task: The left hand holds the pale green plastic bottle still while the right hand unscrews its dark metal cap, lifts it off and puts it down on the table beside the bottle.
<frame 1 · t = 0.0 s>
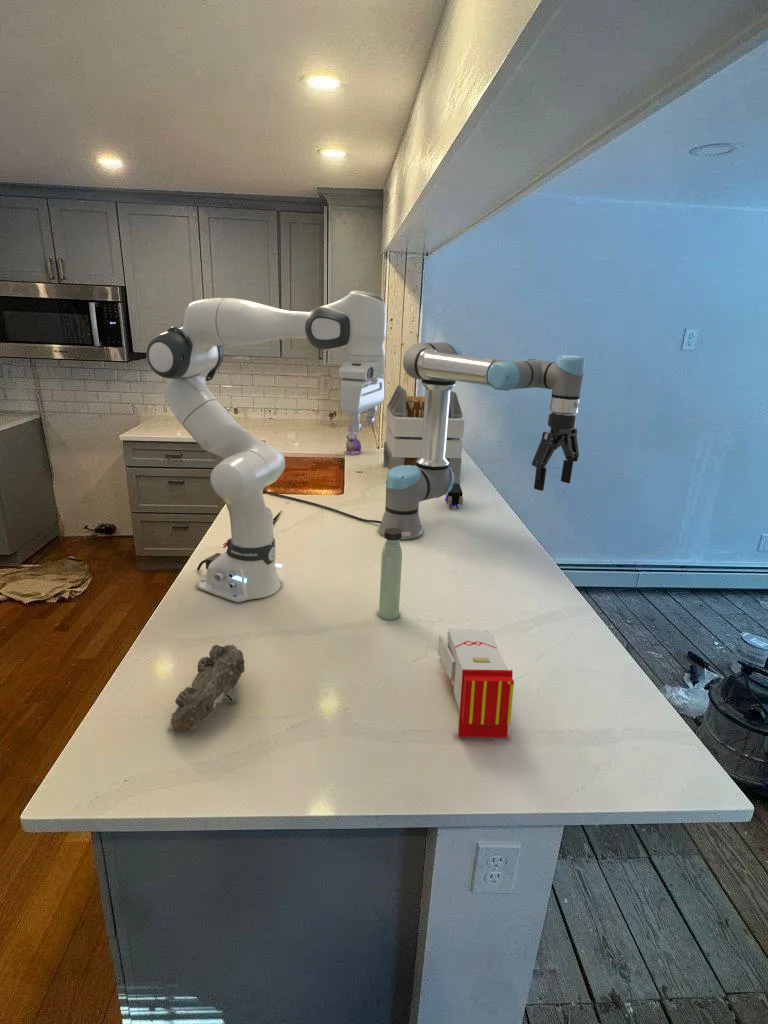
left hand: (363, 428, 133), 48 cm above the counter, tool pointing down, fingers open, 8 cm apart
right hand: (552, 485, 166), 28 cm above the counter, tool pointing down, fingers open, 13 cm apart
feather: (279, 514, 213), on the counter
transformer: (419, 473, 275), on the counter
toy: (469, 691, 119), on the counter
cap: (393, 532, 139), point 23 cm above the counter, screwed on, not yet turned
figurine character: (452, 505, 232), on the counter
bottle: (388, 614, 147), on the counter
figurine: (353, 453, 307), on the counter
fossil: (214, 699, 113), on the counter
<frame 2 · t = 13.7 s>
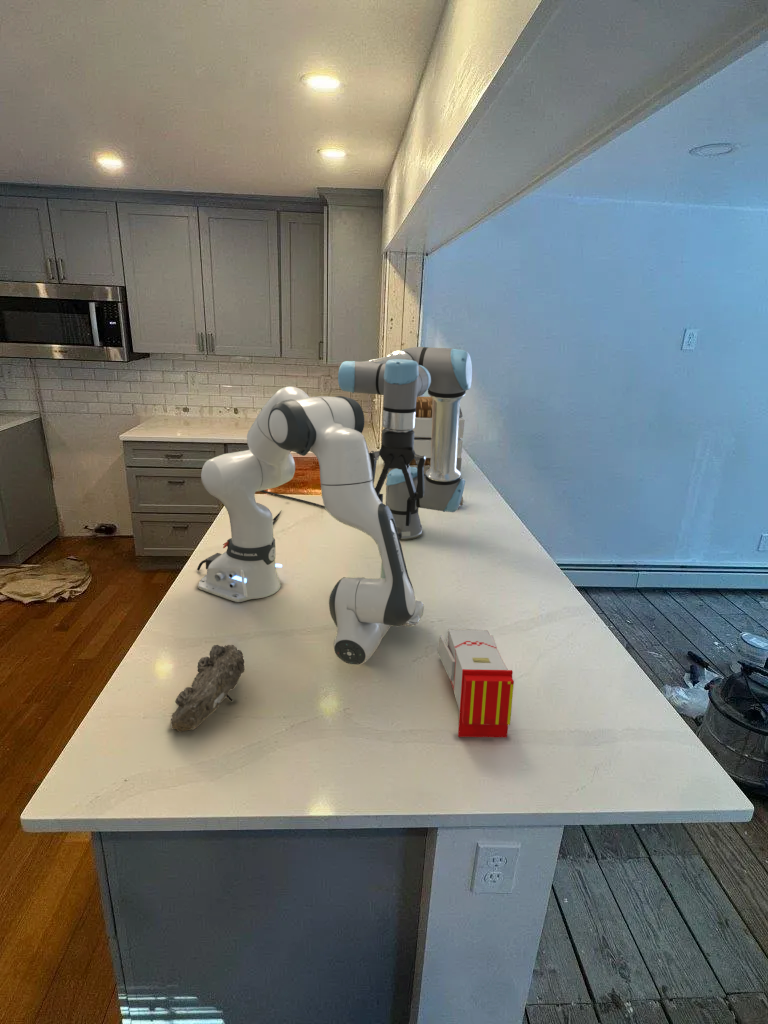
left hand: (390, 591, 146), 6 cm above the counter, tool horizontal, fingers closed on bottle, 5 cm apart
right hand: (393, 522, 138), 26 cm above the counter, tool pointing down, fingers open, 6 cm apart
bottle: (388, 614, 147), on the counter, touching left hand
everything else where it was.
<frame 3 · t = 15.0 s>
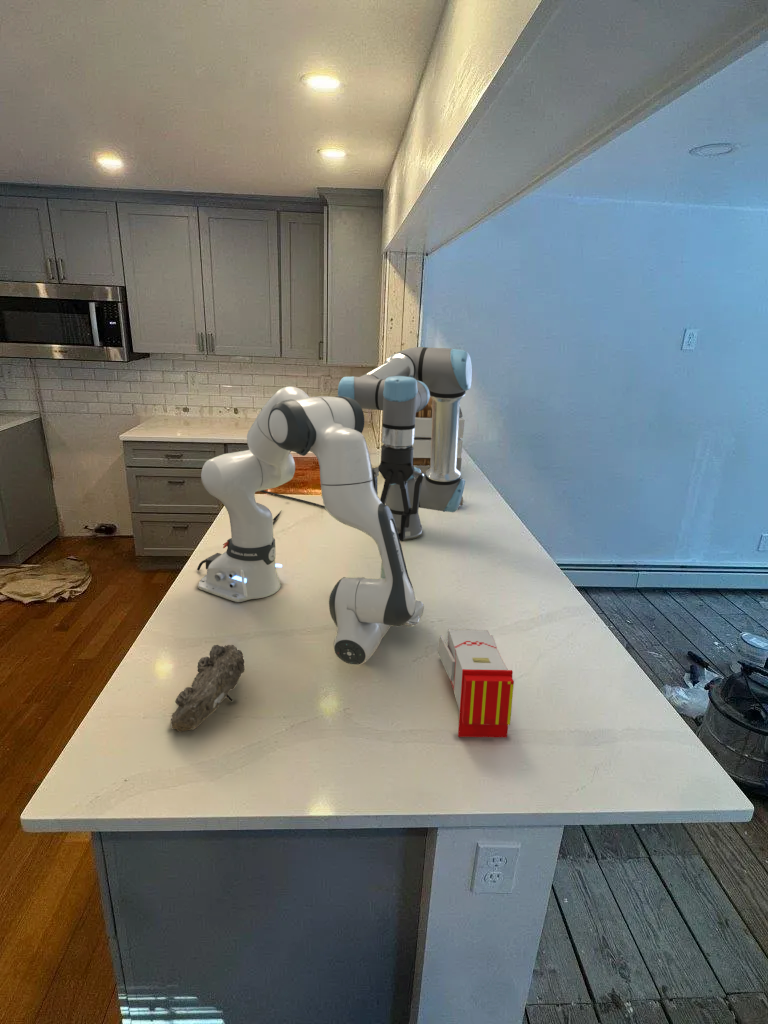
left hand: (390, 591, 146), 6 cm above the counter, tool horizontal, fingers closed on bottle, 5 cm apart
right hand: (392, 537, 140), 22 cm above the counter, tool pointing down, fingers closed on cap, 4 cm apart
cap: (393, 532, 139), point 23 cm above the counter, screwed on, not yet turned, touching right hand
bottle: (388, 614, 147), on the counter, touching left hand
everything else where it was.
when the right hand's fingers open (2 cm above the counter, at t = 31.6 s): cap drops 2 cm, point 1 cm above the counter.
when the left hand's fingers open (6 cm above the counter, at t = 33.0 s): bottle stays where it is, on the counter.
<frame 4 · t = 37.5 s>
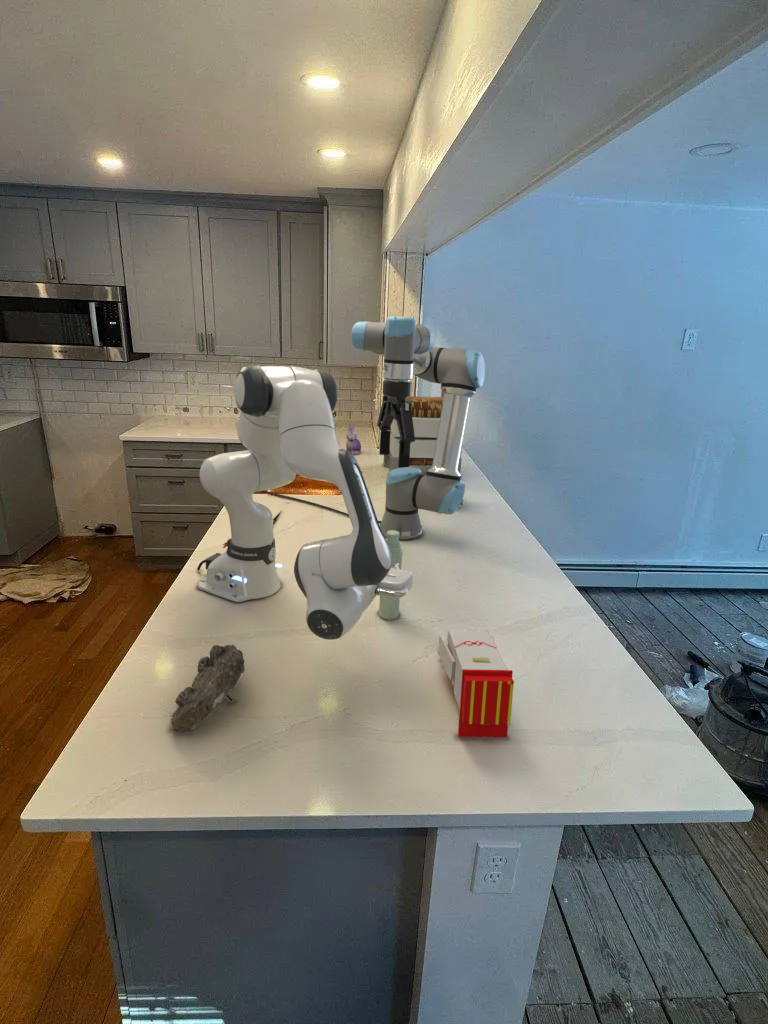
left hand: (376, 562, 129), 20 cm above the counter, tool horizontal, fingers open, 8 cm apart
right hand: (393, 460, 152), 36 cm above the counter, tool pointing down, fingers open, 13 cm apart
cap: (387, 577, 164), point 1 cm above the counter, off its thread
bottle: (388, 614, 147), on the counter
everything else where it was.
at the end: cap came off its thread; cap point 1.4 cm above the counter; the left hand is holding nothing; the right hand is holding nothing; bottle tilted 0°; bottle moved 0.0 cm from its start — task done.
